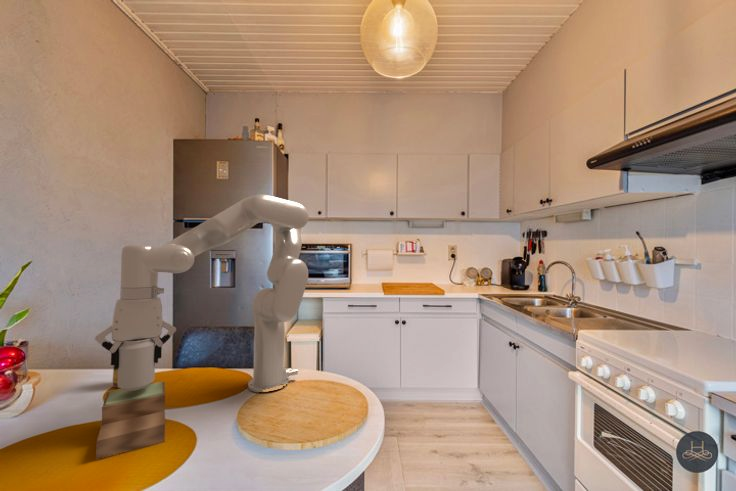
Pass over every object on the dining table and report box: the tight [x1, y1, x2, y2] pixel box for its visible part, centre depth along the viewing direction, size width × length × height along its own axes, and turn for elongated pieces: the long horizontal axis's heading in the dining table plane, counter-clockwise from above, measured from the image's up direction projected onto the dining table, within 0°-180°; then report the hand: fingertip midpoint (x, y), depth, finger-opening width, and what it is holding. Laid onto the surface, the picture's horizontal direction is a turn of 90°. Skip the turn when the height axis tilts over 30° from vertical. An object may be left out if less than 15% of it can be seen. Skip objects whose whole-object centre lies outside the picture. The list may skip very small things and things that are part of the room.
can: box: [117, 338, 156, 391], centre depth 78 cm, size 8×8×12 cm
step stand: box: [95, 381, 166, 460], centre depth 75 cm, size 12×16×8 cm
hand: (137, 363), depth 78 cm, fingers closed on can, 7 cm apart
